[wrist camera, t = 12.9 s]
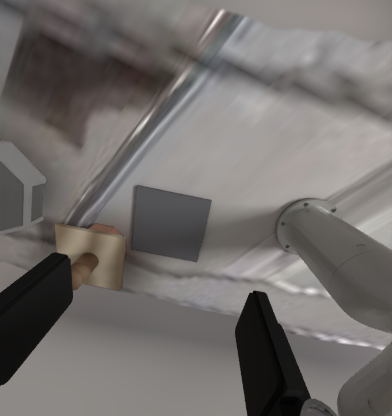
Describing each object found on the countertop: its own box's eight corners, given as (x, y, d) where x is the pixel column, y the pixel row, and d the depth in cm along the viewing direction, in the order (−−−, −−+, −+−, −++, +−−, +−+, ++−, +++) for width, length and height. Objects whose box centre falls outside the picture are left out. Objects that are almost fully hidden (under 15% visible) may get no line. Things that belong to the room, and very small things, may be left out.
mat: (211, 200, 37) (211, 201, 37) (196, 260, 43) (196, 262, 42) (137, 185, 37) (136, 186, 36) (132, 248, 42) (131, 249, 42)
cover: (125, 236, 36) (108, 258, 29) (122, 287, 40) (106, 316, 34) (57, 223, 35) (25, 242, 29) (62, 276, 40) (35, 303, 34)
